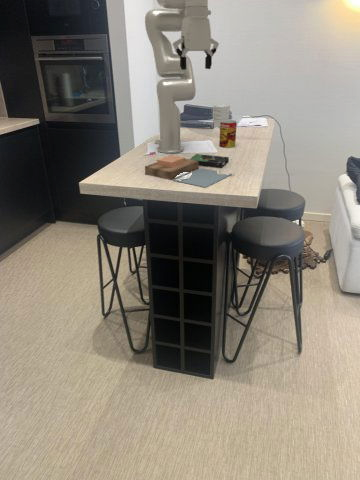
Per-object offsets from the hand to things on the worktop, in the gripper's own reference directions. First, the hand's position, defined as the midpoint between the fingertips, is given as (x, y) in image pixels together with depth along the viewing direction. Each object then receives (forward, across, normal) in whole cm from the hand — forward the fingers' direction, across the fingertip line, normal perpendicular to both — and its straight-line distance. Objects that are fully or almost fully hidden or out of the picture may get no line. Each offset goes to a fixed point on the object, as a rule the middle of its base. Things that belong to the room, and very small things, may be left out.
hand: (195, 69), depth 134 cm
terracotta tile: (+34, +10, -1) cm, 35 cm away
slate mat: (+37, +2, +12) cm, 39 cm away
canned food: (+37, -31, -29) cm, 56 cm away
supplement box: (+36, -53, -76) cm, 100 cm away
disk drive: (+37, -9, -5) cm, 39 cm away
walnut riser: (+37, +10, 0) cm, 38 cm away
